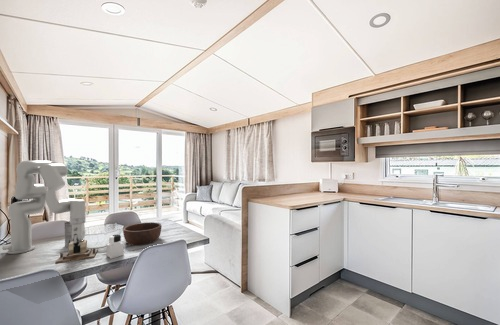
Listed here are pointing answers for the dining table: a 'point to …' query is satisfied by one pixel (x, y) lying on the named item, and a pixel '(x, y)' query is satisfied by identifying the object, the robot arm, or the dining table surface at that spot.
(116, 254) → the medicine bottle
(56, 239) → the dining table surface
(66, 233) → the coffee box
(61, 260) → the keyed frame
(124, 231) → the wooden bowl
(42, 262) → the dining table surface
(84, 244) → the oak key block
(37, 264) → the dining table surface
